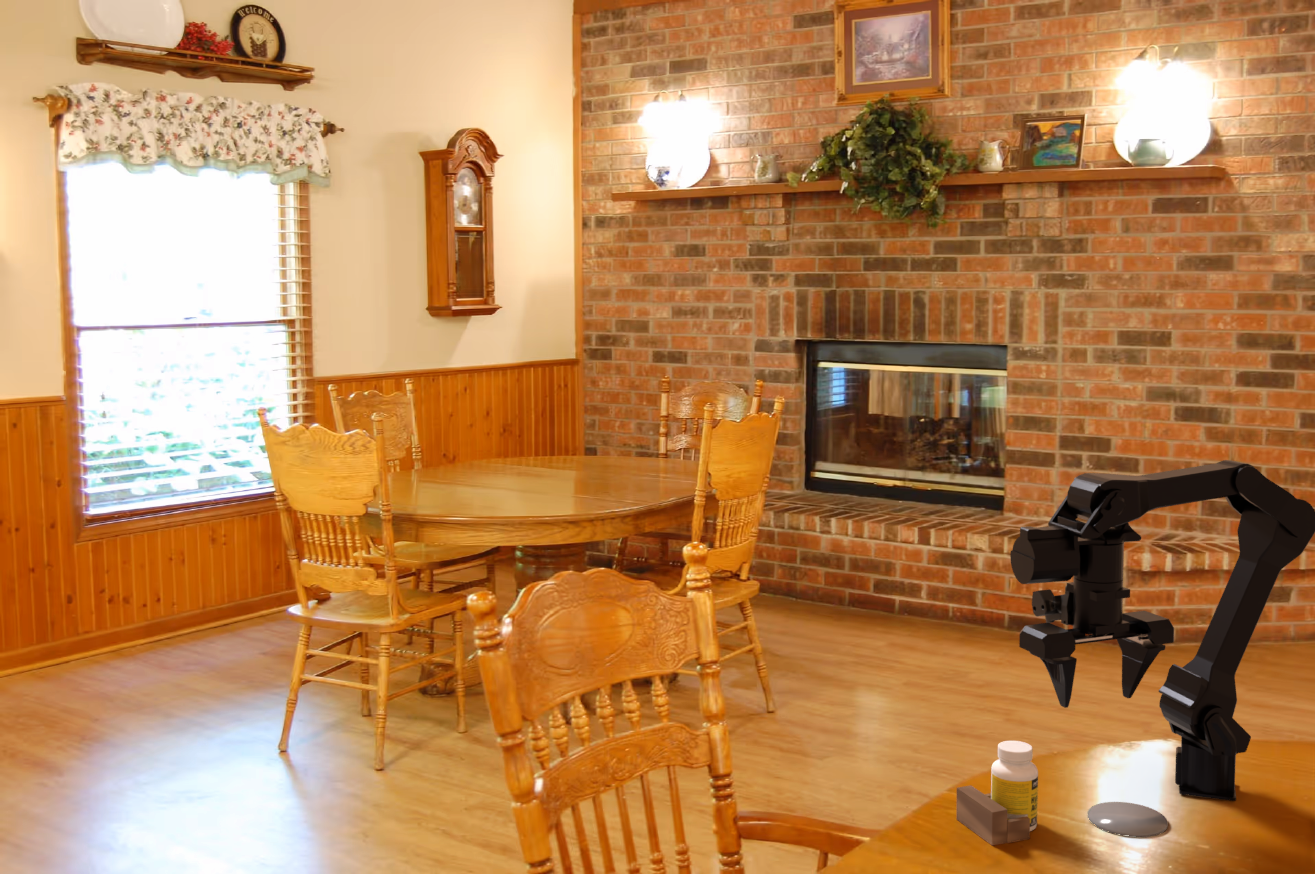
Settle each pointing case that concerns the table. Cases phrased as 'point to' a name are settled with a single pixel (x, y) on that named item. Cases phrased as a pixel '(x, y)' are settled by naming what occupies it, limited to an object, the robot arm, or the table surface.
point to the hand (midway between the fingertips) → (1095, 701)
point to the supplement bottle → (1015, 781)
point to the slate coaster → (1127, 819)
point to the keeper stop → (989, 817)
